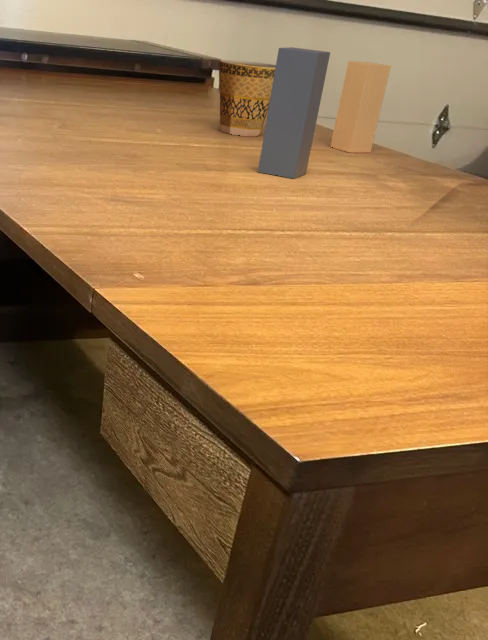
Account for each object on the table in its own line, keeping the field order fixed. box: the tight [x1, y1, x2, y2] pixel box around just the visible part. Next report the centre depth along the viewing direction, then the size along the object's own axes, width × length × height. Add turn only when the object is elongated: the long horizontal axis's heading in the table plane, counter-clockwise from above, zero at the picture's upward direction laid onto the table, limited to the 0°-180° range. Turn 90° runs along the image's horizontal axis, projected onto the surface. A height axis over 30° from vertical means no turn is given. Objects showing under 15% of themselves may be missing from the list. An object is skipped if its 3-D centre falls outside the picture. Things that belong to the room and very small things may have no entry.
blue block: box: [257, 47, 331, 180], centre depth 103 cm, size 5×5×14 cm
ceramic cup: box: [218, 59, 276, 137], centre depth 133 cm, size 13×10×10 cm
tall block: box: [329, 60, 392, 154], centre depth 126 cm, size 4×4×12 cm
